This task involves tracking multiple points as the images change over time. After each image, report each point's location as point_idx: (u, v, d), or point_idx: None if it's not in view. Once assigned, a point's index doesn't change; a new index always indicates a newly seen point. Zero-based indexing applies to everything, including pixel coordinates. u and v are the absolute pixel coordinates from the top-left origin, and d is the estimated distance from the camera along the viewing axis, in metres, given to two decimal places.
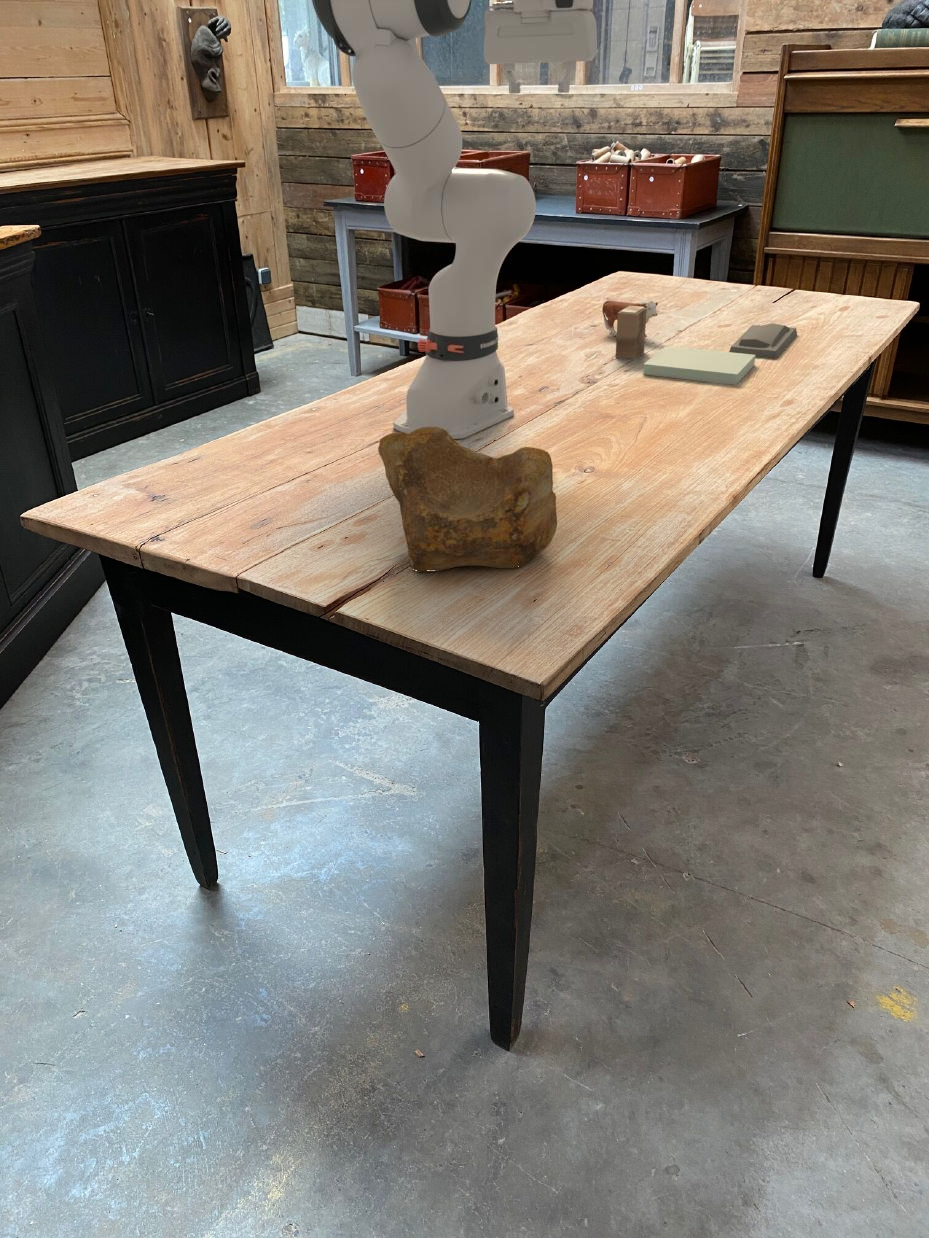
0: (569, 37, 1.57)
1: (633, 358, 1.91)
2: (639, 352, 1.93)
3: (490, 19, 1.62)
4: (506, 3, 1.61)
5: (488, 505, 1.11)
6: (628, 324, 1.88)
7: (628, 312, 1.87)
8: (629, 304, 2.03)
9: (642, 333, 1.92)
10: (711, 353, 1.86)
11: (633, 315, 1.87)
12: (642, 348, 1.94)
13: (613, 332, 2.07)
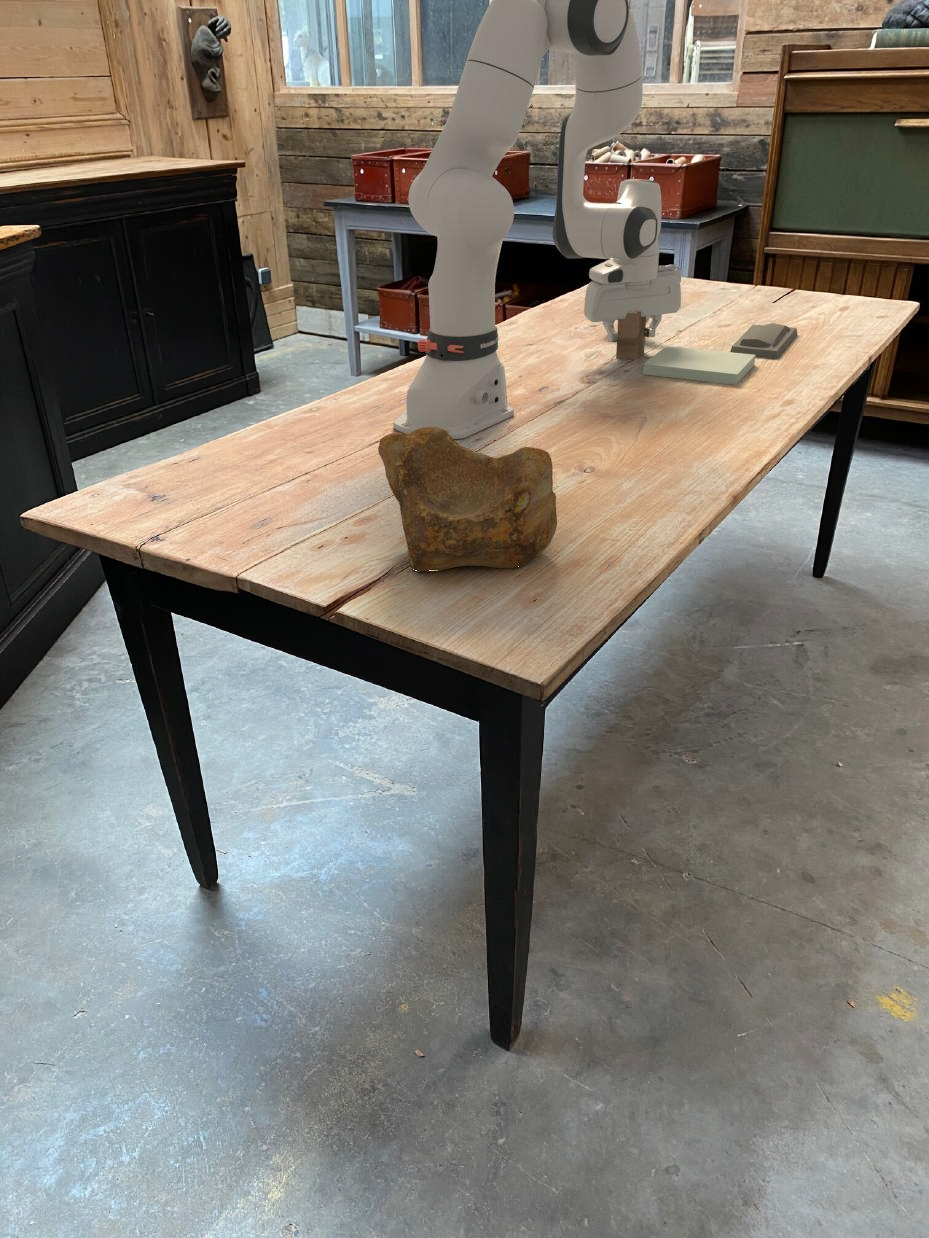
0: None
1: (634, 358, 1.91)
2: (640, 352, 1.93)
3: None
4: None
5: (488, 504, 1.11)
6: (629, 324, 1.88)
7: (629, 312, 1.87)
8: None
9: (642, 333, 1.92)
10: (711, 353, 1.86)
11: (634, 315, 1.87)
12: (642, 347, 1.94)
13: None
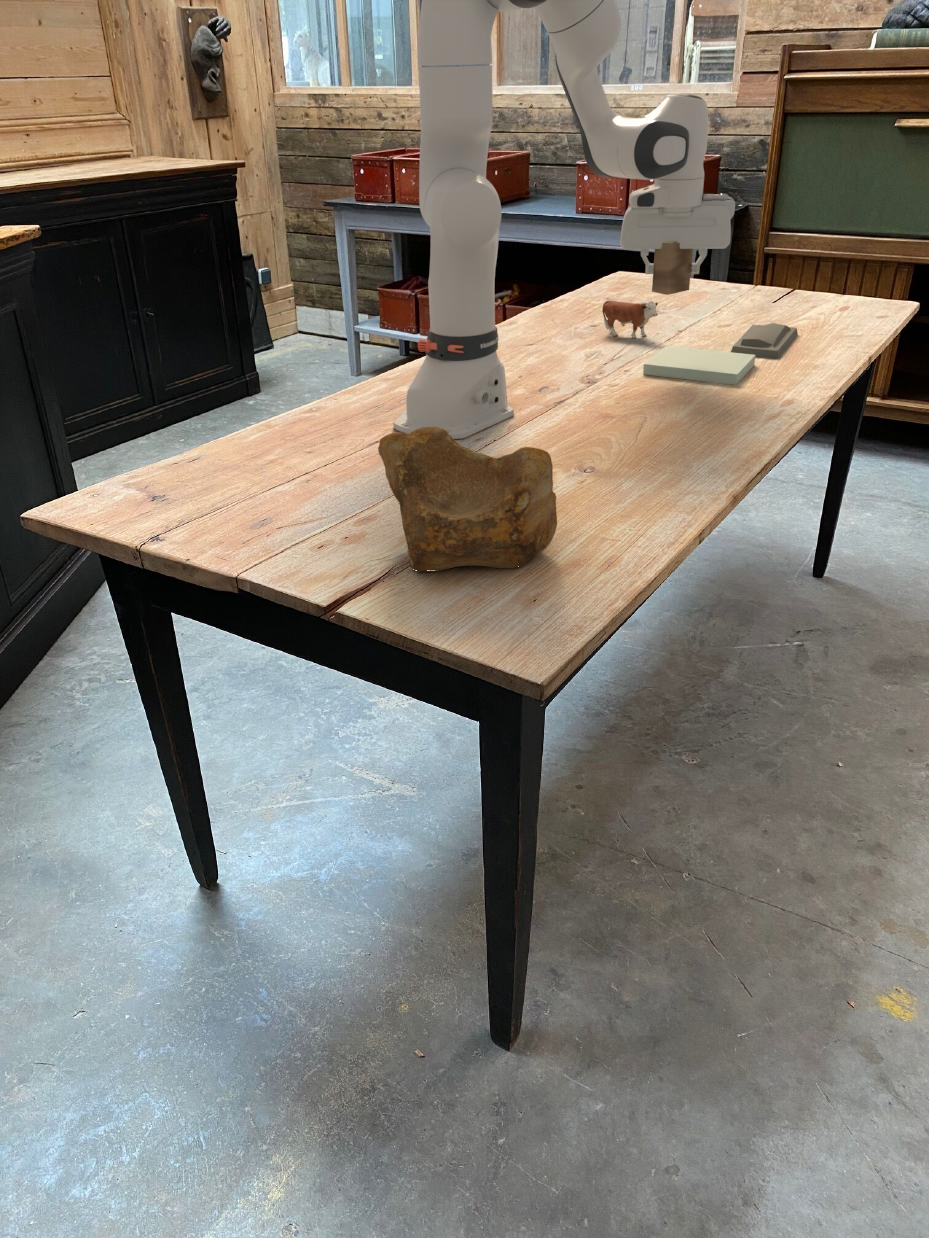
0: None
1: (666, 293, 1.78)
2: (679, 288, 1.79)
3: None
4: None
5: (488, 505, 1.11)
6: (663, 255, 1.75)
7: (665, 242, 1.74)
8: (629, 304, 2.03)
9: (684, 268, 1.77)
10: (711, 353, 1.86)
11: (668, 245, 1.74)
12: (685, 284, 1.79)
13: (613, 332, 2.07)
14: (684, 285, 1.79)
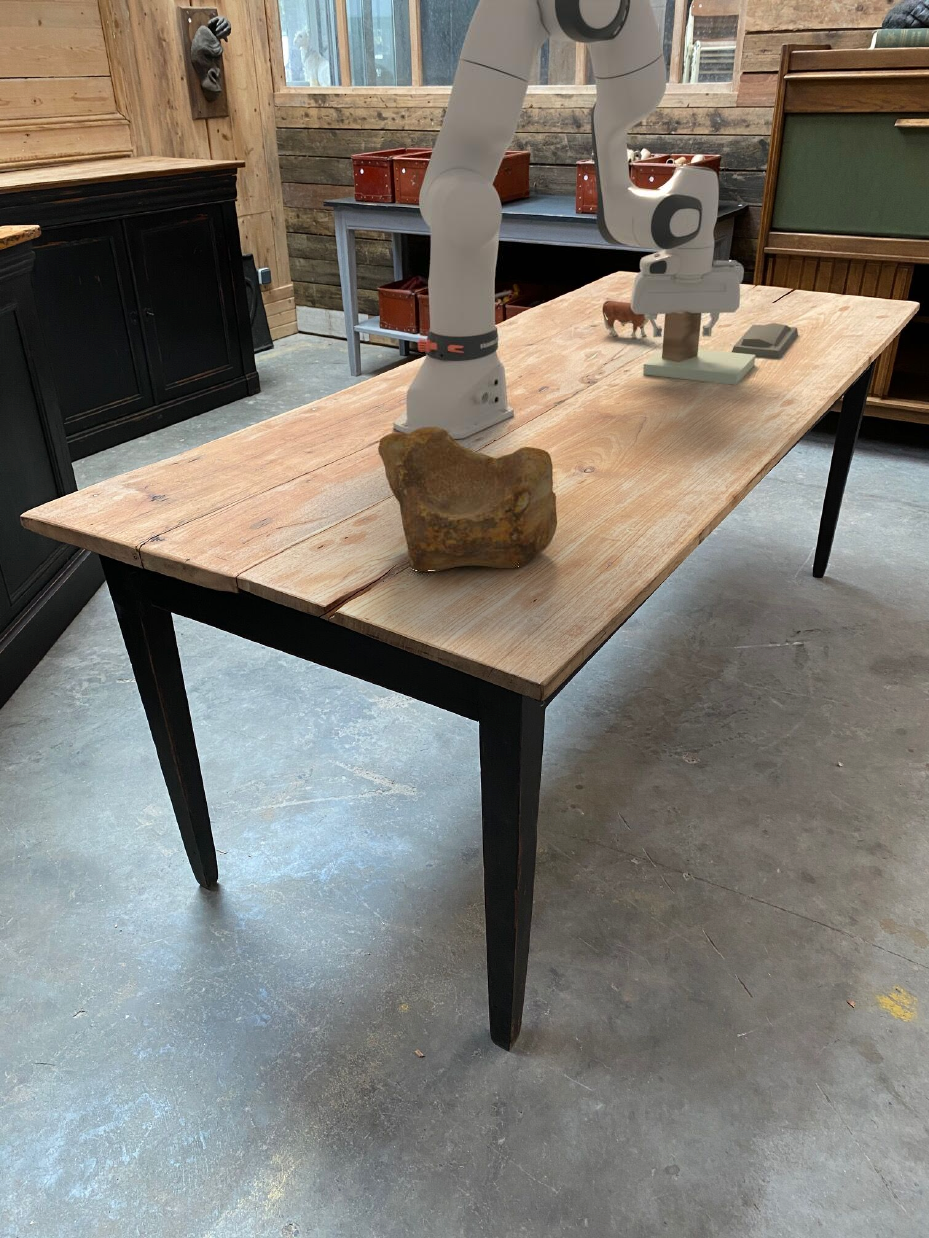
0: None
1: (677, 360, 1.81)
2: (689, 355, 1.83)
3: None
4: None
5: (488, 505, 1.11)
6: (674, 324, 1.79)
7: (675, 311, 1.78)
8: (629, 304, 2.03)
9: (693, 335, 1.81)
10: (711, 353, 1.86)
11: (679, 315, 1.77)
12: (694, 351, 1.83)
13: (613, 332, 2.07)
14: (693, 352, 1.83)
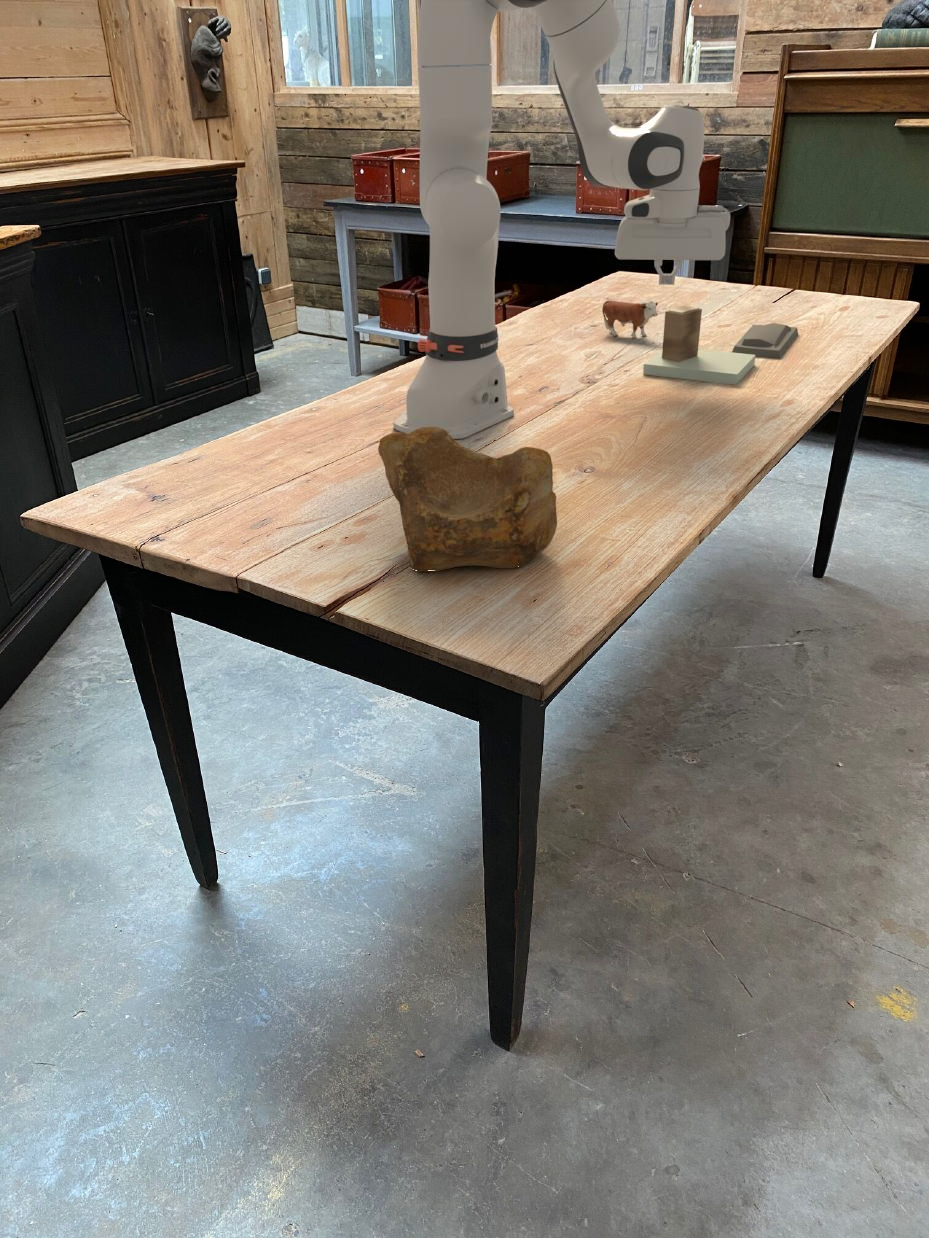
0: None
1: (677, 360, 1.81)
2: (688, 355, 1.83)
3: None
4: None
5: (488, 504, 1.11)
6: (674, 324, 1.79)
7: (675, 311, 1.78)
8: (629, 304, 2.03)
9: (693, 335, 1.81)
10: (711, 353, 1.86)
11: (679, 315, 1.77)
12: (694, 351, 1.83)
13: (613, 332, 2.07)
14: (693, 352, 1.83)
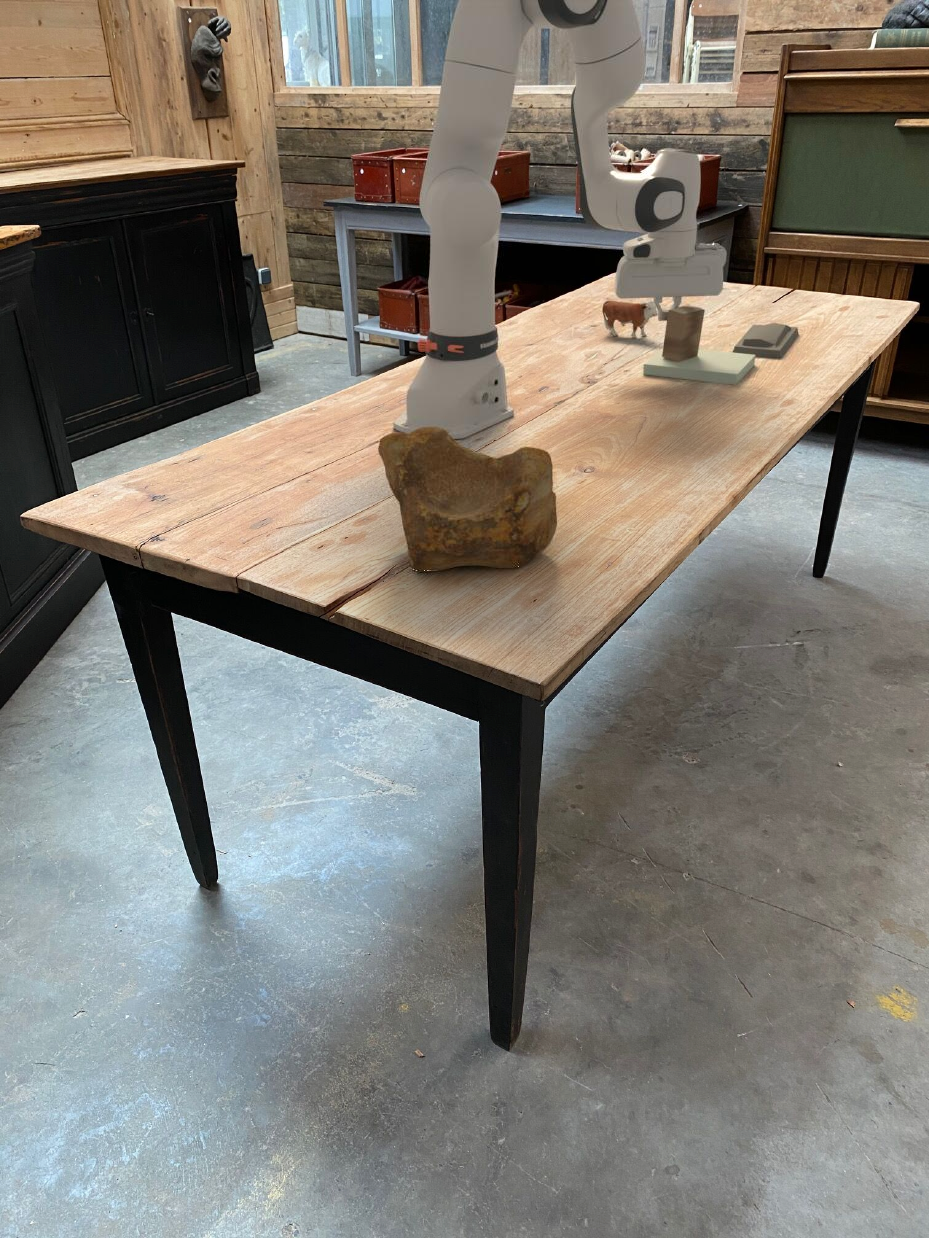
0: None
1: (677, 360, 1.81)
2: (689, 355, 1.82)
3: None
4: None
5: (488, 504, 1.11)
6: (676, 324, 1.78)
7: (678, 311, 1.77)
8: (629, 304, 2.03)
9: (695, 336, 1.81)
10: (711, 353, 1.86)
11: (682, 315, 1.77)
12: (694, 351, 1.83)
13: (613, 332, 2.07)
14: (693, 352, 1.83)
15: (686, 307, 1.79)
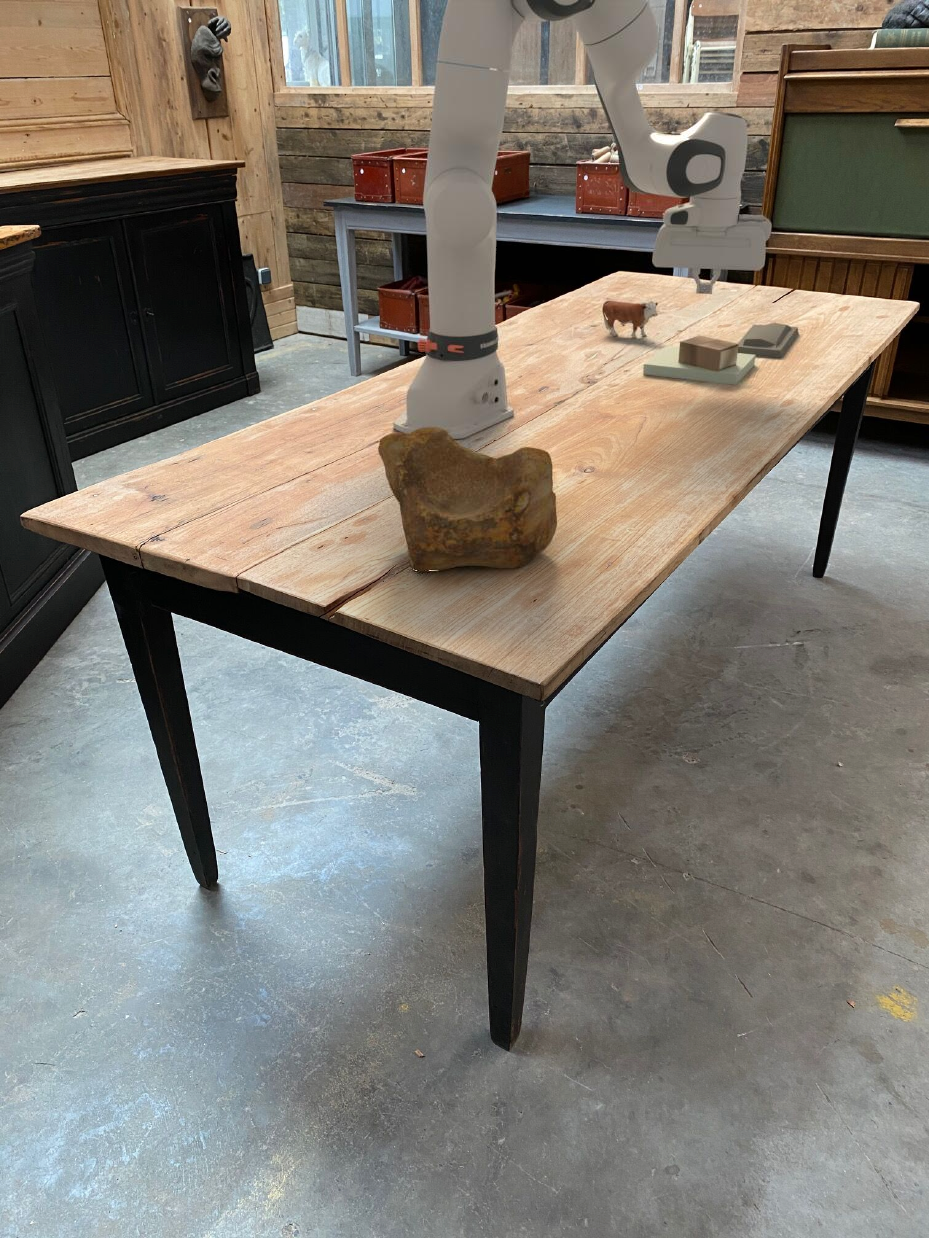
0: None
1: (679, 361, 1.81)
2: None
3: None
4: None
5: (488, 505, 1.11)
6: (708, 360, 1.76)
7: (720, 361, 1.74)
8: (629, 304, 2.03)
9: None
10: None
11: (716, 367, 1.75)
12: None
13: (613, 332, 2.07)
14: None
15: (731, 354, 1.76)
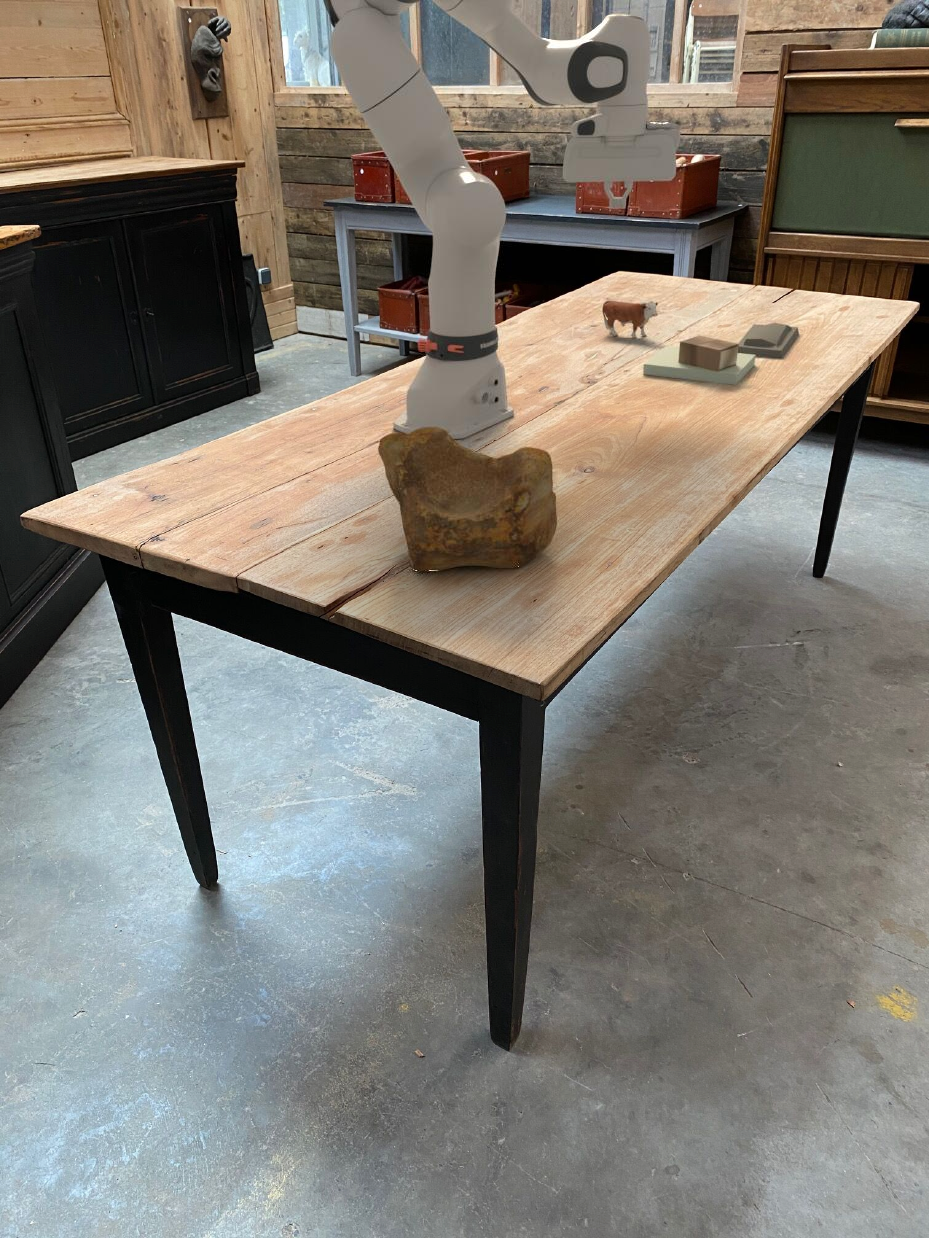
0: None
1: (679, 361, 1.81)
2: None
3: None
4: None
5: (488, 505, 1.11)
6: (708, 360, 1.76)
7: (720, 361, 1.74)
8: (629, 304, 2.03)
9: None
10: None
11: (716, 367, 1.75)
12: None
13: (613, 332, 2.07)
14: None
15: (731, 354, 1.76)
